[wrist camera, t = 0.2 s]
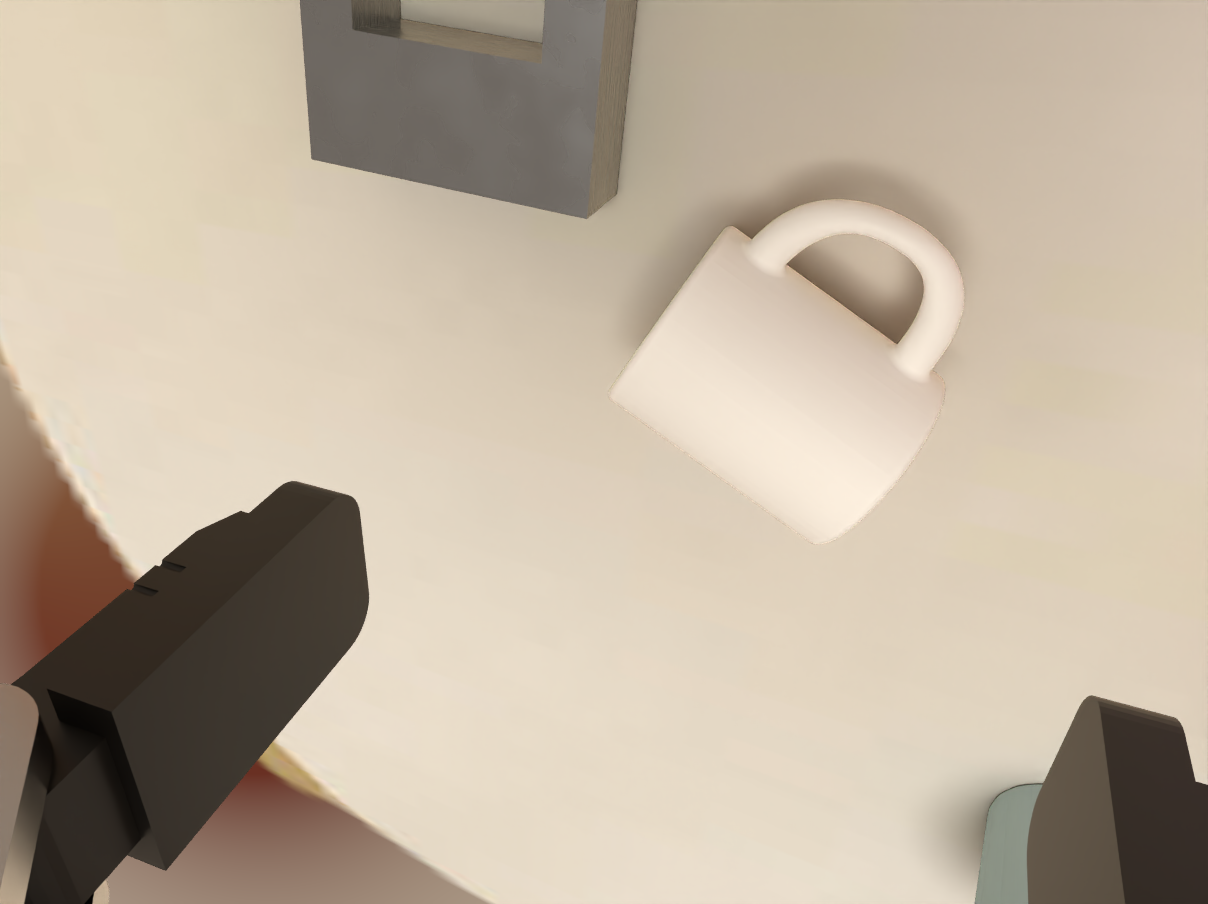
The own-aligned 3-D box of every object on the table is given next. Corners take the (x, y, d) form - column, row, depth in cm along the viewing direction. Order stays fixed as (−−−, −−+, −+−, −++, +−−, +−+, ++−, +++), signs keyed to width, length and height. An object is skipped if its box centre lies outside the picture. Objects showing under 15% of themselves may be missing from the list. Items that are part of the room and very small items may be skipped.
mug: (826, 474, 42) (797, 584, 35) (644, 343, 41) (580, 429, 35) (1028, 268, 34) (1037, 358, 28) (809, 109, 34) (768, 162, 28)
